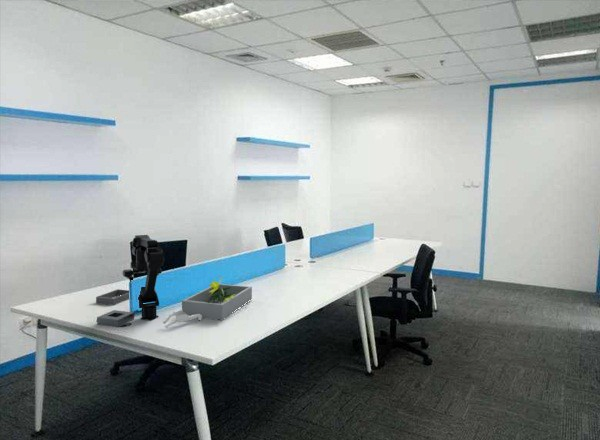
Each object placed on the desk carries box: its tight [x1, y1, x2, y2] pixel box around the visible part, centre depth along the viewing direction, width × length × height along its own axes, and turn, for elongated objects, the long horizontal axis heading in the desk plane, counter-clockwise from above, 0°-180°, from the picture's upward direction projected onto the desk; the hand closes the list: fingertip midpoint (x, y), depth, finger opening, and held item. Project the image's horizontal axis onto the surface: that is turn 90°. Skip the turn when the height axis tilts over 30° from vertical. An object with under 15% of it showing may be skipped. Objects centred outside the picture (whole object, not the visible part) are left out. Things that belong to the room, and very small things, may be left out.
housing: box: [96, 309, 135, 328], centre depth 210 cm, size 12×12×4 cm
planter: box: [181, 283, 253, 321], centre depth 236 cm, size 23×39×8 cm, turn 164°
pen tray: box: [95, 288, 130, 306], centre depth 248 cm, size 12×18×4 cm, turn 164°
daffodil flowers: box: [208, 276, 235, 304], centre depth 235 cm, size 17×15×35 cm
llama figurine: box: [162, 308, 203, 329], centre depth 209 cm, size 2×11×18 cm
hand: (142, 287), depth 226 cm, fingers open, 9 cm apart
